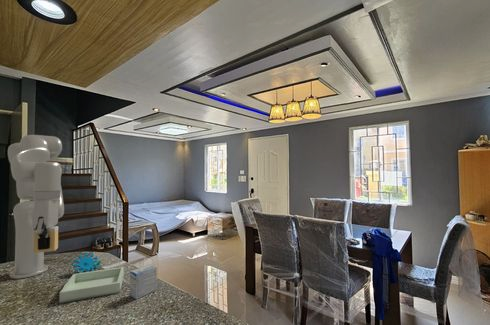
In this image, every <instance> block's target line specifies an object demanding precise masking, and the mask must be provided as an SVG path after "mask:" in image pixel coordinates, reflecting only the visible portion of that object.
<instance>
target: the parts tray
mask: <svg viewBox="0 0 490 325" xmlns="http://www.w3.org/2000/svg"><path fill="white" fill-rule="evenodd" d="M124 276H125V266H121V267H120V266H119V267H113V268H106V269H100V270H95V271H92V272H91V271H89V272H86V271H84V272H83V273H79V272H78V273H73V274H72V276H71V277H69V279H68V280H67V282H66V284H65V285H64V286H63V287H62V289H61V290H60V292H59V304H63V303H69V302H75V301H80V300H85V299H92V298H98V297H101V296H103V297H104V296H108V295H115V294H118V293H121V290H122V287H123V286H122V285H123V282H122V281H124Z"/></svg>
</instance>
